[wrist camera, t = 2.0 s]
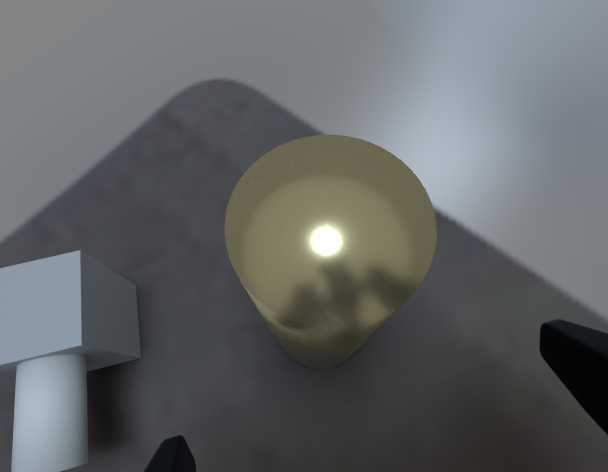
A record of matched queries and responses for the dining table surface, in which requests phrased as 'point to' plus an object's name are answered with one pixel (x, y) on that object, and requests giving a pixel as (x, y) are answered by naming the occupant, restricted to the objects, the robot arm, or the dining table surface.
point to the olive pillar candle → (329, 242)
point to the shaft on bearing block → (61, 351)
